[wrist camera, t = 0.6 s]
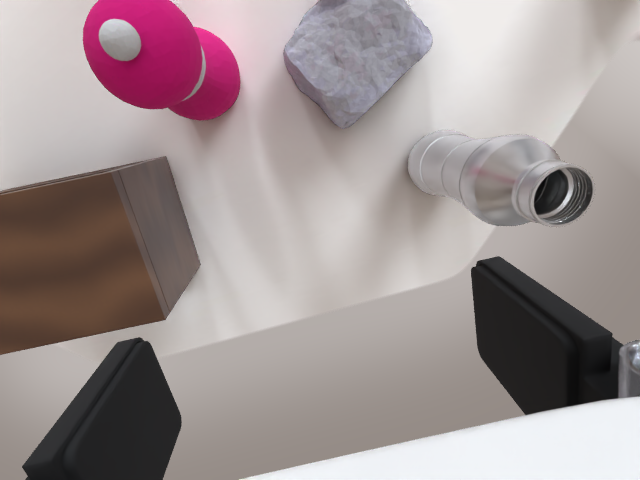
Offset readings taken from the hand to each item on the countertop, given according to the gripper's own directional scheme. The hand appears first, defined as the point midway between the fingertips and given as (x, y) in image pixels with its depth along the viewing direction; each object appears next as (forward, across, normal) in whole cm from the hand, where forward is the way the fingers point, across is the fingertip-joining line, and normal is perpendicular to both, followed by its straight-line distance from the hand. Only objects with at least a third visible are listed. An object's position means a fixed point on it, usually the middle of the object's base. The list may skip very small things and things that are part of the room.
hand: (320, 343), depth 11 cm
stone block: (+31, -8, -11) cm, 33 cm away
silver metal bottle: (+31, -14, +2) cm, 34 cm away
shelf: (+30, +21, +1) cm, 37 cm away
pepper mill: (+31, +6, -11) cm, 33 cm away
